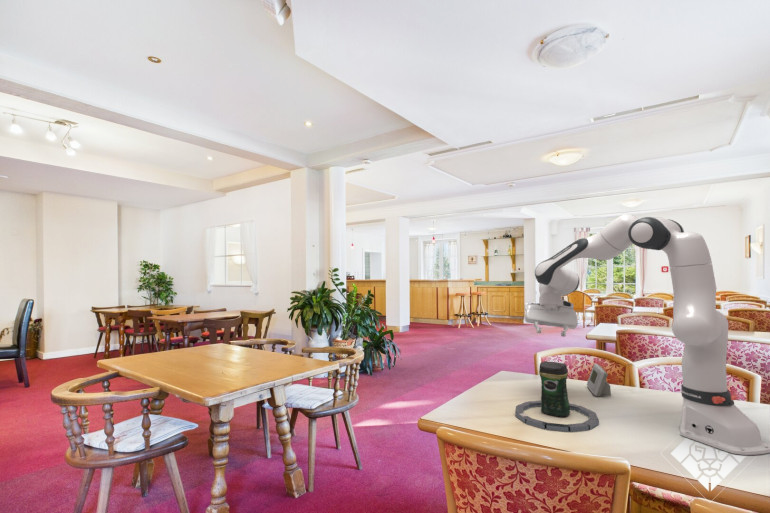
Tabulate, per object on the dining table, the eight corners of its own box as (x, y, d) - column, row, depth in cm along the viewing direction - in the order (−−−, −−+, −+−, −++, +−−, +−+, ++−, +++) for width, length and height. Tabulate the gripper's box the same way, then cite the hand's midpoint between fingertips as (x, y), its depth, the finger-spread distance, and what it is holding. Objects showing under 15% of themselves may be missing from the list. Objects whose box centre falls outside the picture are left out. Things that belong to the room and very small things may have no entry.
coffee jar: (572, 413, 146) (570, 361, 147) (565, 419, 140) (563, 365, 141) (546, 407, 153) (543, 358, 154) (538, 413, 147) (535, 362, 148)
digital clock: (587, 386, 179) (585, 362, 180) (610, 388, 175) (608, 364, 176) (586, 396, 165) (584, 370, 165) (611, 399, 161) (609, 372, 161)
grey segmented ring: (616, 427, 132) (616, 422, 132) (541, 435, 127) (541, 429, 127) (566, 402, 158) (566, 397, 158) (502, 407, 154) (502, 403, 154)
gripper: (526, 297, 169) (525, 326, 161) (577, 304, 165) (579, 334, 157) (523, 305, 174) (523, 333, 166) (573, 312, 170) (575, 341, 162)
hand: (551, 334), depth 161 cm, fingers open, 8 cm apart
